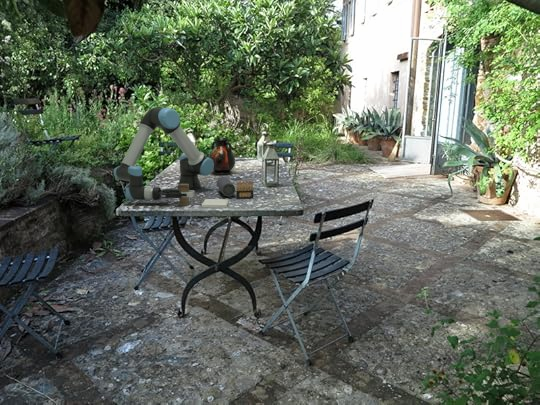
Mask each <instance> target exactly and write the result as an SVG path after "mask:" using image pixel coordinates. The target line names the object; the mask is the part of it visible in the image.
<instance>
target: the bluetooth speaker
mask: <svg viewBox="0 0 540 405" xmlns="http://www.w3.org/2000/svg"><path fill="white" fill-rule="evenodd" d="M216 186H217V188H218V189H219V192H221V194H222V195H224V196H225V197H232V196H234V194H236V186H235V185H234V183H233V182H232V181H231V180H230V178H228V177H226V176H220V177H218V179H217V180H216Z"/></svg>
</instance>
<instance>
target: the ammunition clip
mask: <svg viewBox="0 0 540 405" xmlns="http://www.w3.org/2000/svg"><path fill="white" fill-rule="evenodd" d="M235 195H236V196H235V198H236V200H248V199H249V200H254V199H255V198H254V197H255V196H254V181H253V179H251V180H250V179H248V181H247V179H237V180H236V186H235Z"/></svg>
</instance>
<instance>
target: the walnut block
mask: <svg viewBox="0 0 540 405" xmlns="http://www.w3.org/2000/svg"><path fill="white" fill-rule="evenodd" d="M178 190H179V193H181V192H189V191H190V190H189V184H179V188H178ZM178 199H179V200H178V201H179V202H178V203H179V206H181V207H182V206H186V207H187V206H189V205H190V197H181V199H180V197H179V198H178Z"/></svg>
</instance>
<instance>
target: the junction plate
mask: <svg viewBox="0 0 540 405" xmlns="http://www.w3.org/2000/svg"><path fill="white" fill-rule="evenodd" d="M229 202H230V199H229V198H228V199H227V198H226V199H224V198H220V199H219V198H217V199H215V198H205V199H204V201H203V202H202V204H201V208H211V209H212V208H219V209H220V208H221V209H222V208H227V206H229V205H228V204H229Z"/></svg>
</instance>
